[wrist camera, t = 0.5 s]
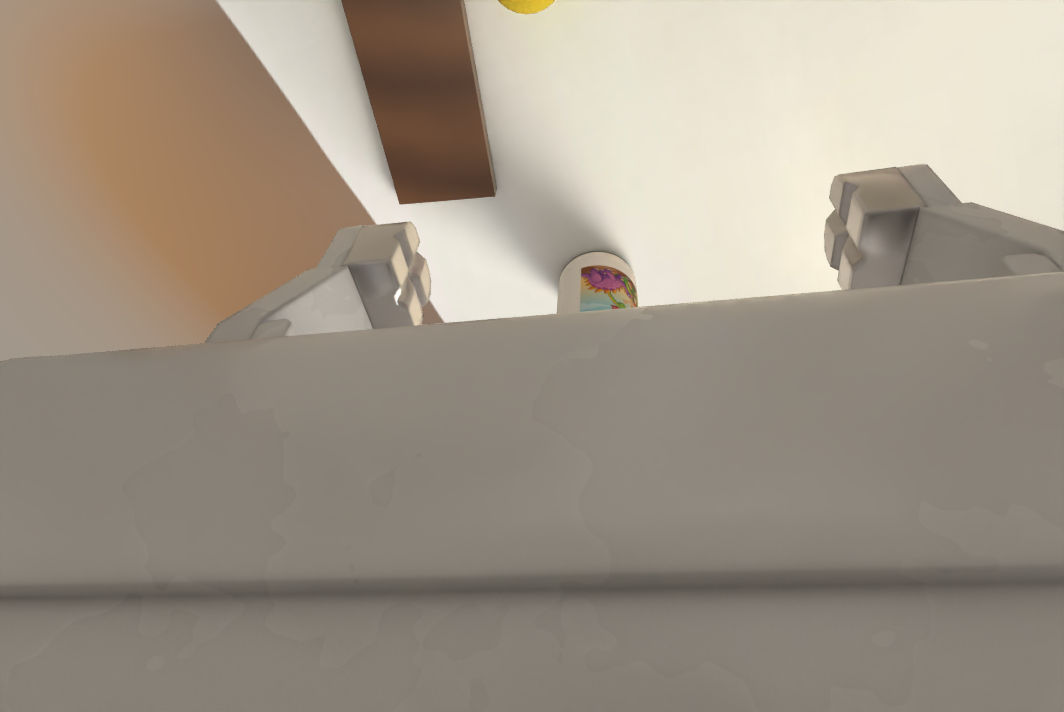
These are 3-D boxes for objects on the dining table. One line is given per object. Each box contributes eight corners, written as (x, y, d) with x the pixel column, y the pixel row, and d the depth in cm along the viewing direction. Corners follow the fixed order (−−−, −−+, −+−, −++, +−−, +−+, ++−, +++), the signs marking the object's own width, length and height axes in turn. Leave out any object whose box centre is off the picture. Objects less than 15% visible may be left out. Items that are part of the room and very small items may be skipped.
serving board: (325, -81, 47) (318, -78, 46) (446, -99, 46) (442, -96, 45) (403, 197, 61) (399, 204, 60) (497, 189, 60) (495, 196, 59)
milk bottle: (593, 324, 69) (593, 472, 54) (543, 279, 66) (528, 423, 51) (651, 284, 66) (668, 431, 51) (601, 234, 62) (603, 376, 47)
